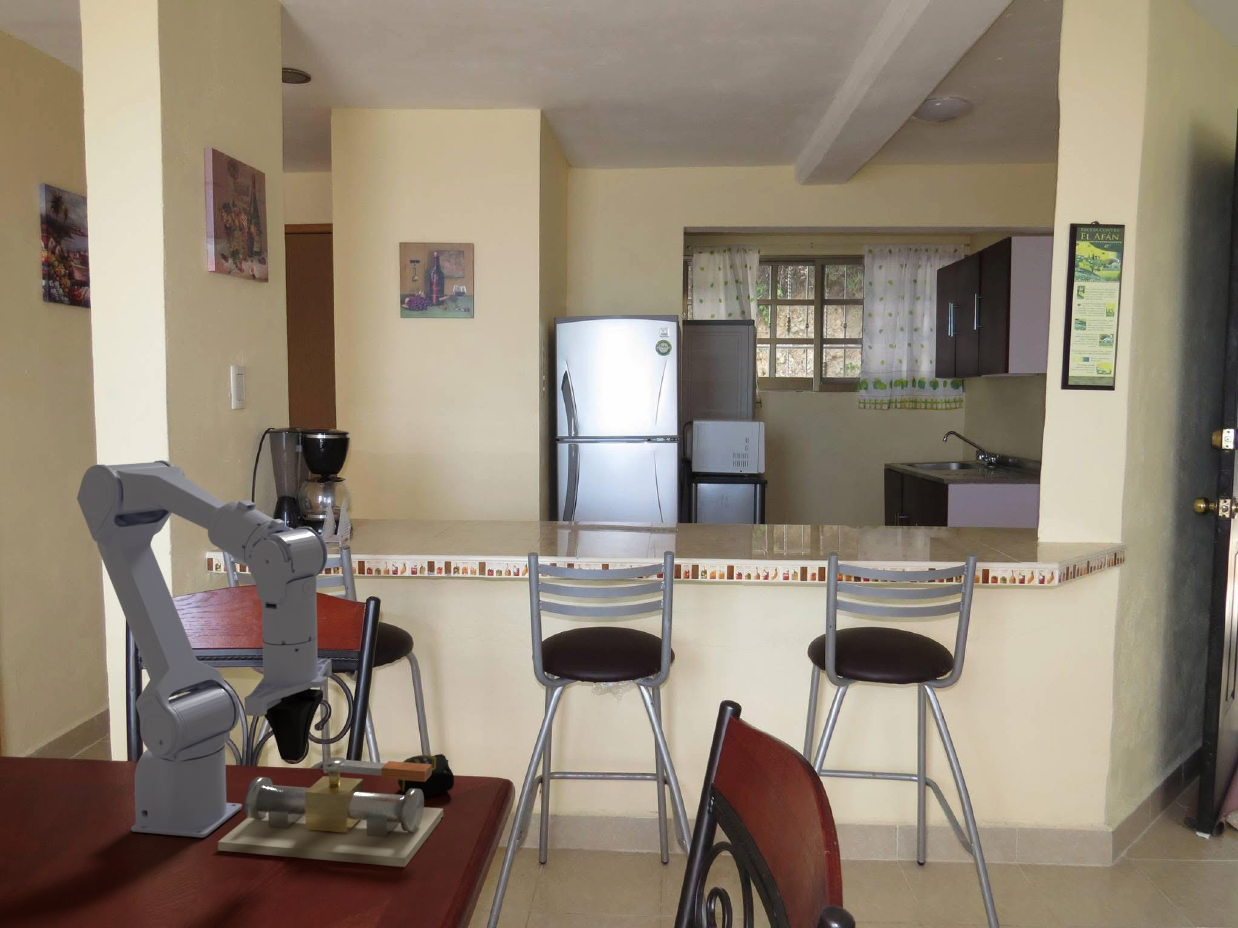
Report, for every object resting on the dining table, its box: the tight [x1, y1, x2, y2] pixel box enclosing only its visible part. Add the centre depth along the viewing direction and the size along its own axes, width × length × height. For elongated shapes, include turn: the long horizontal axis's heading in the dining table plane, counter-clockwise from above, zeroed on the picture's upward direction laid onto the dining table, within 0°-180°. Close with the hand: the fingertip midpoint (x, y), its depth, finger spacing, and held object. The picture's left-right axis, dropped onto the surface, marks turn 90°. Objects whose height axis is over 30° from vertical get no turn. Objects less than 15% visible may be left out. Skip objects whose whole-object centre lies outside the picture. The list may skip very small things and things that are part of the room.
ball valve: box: [243, 772, 425, 838], centre depth 105 cm, size 20×5×6 cm, turn 81°
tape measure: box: [397, 753, 455, 797], centre depth 117 cm, size 7×7×4 cm
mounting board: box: [217, 806, 444, 868], centre depth 105 cm, size 22×12×1 cm, turn 81°
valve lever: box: [322, 756, 432, 782], centre depth 104 cm, size 13×2×1 cm, turn 80°
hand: (292, 757), depth 101 cm, fingers closed
